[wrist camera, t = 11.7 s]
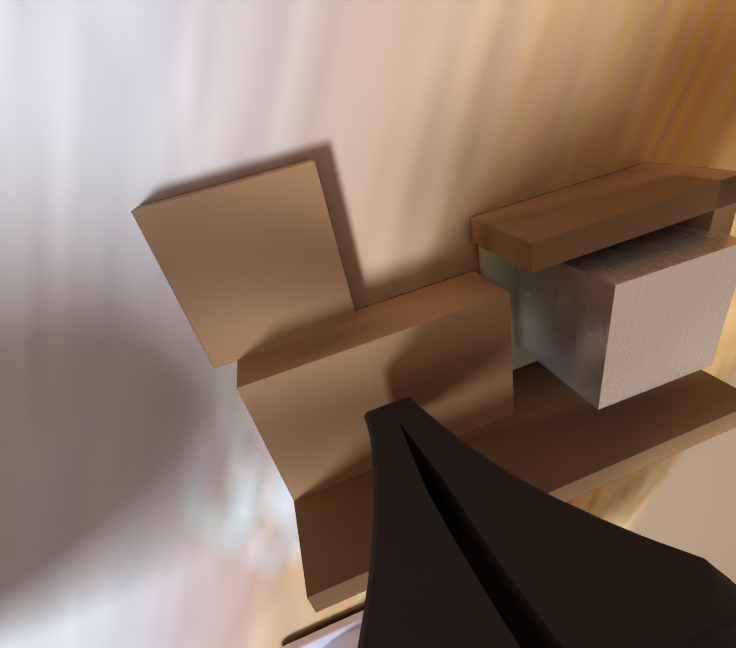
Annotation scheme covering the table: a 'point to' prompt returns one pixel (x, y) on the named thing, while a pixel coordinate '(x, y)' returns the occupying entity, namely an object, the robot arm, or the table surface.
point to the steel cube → (629, 312)
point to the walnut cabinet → (420, 343)
